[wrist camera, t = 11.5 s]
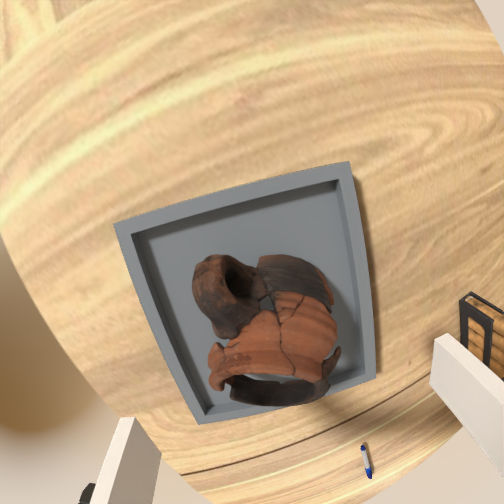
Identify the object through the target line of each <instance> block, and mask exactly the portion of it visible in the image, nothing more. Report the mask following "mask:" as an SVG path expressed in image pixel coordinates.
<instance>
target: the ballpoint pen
mask: <svg viewBox="0 0 504 504" xmlns="http://www.w3.org/2000/svg"><path fill="white" fill-rule="evenodd" d="M361 453H362V457H363V460H364V464H365V469H366V473H367V476H368V478H369V479H372V471H371V467H370V464H369V460H368V456H367V452H366V448H365V447H364V445H361Z"/></svg>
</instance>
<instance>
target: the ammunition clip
mask: <svg viewBox="0 0 504 504" xmlns="http://www.w3.org/2000/svg"><path fill="white" fill-rule="evenodd" d="M460 313H461V345H463V346H464V347H465V348H466V349H467V350H468V351H470V352H471V353H472V354H473V355H474V356H475V357H477V358H478V359H479V360H480V361H481V362H482V363H483V364H484V365H486V366H487V367H488V368H489V369H490V370H491V371H492V372H493V373H494V374H496V375H497V376H498V377H499V378H500V379H502V378H503V377H504V312H503V311H502V310H501V309H499V308H497V307H496V306H494V305H493V304H491V303H489V302H488V301H486V300H485V299H483V298H481V297H480V296H478V295H476V294H475V293H473V292H470V293H468V294H467V295H466V296H465V297H463V298H462V299H461V300H460Z"/></svg>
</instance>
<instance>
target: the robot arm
mask: <svg viewBox="0 0 504 504" xmlns="http://www.w3.org/2000/svg"><path fill="white" fill-rule="evenodd" d="M429 385H430V386H431V387H432V388H433V389H434V391H435V392H436V393H437V394H438V395H439V397H440V398H441V399H442V400H443V401H444V403H445V404H446V405H447V406H448V407H449V409H450V410H451V411H452V412H453V414H454V415H455V416H456V417H457V419H458V420H459V421H460V422H461V424H462V425H463V426H464V427H465V429H466V430H467V431H468V432H469V434H470V435H471V436H472V437H473V439H474V440H475V441H476V443H477V444H478V445H479V446H480V448H481V449H482V450H483V452H484V453H485V454H486V456H487V457H488V458H489V460H490V461H491V462H492V464H493V465H494V466H495V468H496V469H497V471H498V472H499V473H500V474H501V476H502V477H503V476H504V377H503V378H502V379H500V378H499V377H498V376H497V375H496V374H494V373H493V372H492V371H491V370H490V369H489V368H488V367H487V366H486V365H484V364H483V363H482V362H481V361H480V360H479V359H478V358H477V357H475V356H474V355H473V354H472V353H471V352H470V351H468V350H467V349H466V348H465V347H464V346H463V345H461V344H460V343H459V342H458V341H457V340H456V339H454V338H453V337H452V336H451V335H450V334H448V333H446V334H444V335H442V336H440V337H438V338H436V339H435V340H434V350H433V360H432V368H431V376H430V382H429ZM161 454H162V453H161V452H160V451H159V449H158V448H157V447H156V445H155V444H154V443H153V441H152V440H151V439H150V437H149V436H148V435H147V433H146V432H145V431H144V429H143V428H142V426H141V425H140V423H139V422H138V421H137V419H136V418H135V417H123V418H120V420H119V423H118V426H117V428H116V431H115V433H114V436H113V438H112V441H111V444H110V446H109V449H108V452H107V455H106V457H105V460H104V463H103V466H102V469H101V471H100V474H99V477H98V480H97V483H96V484H93V483H89V484H88V486H87V487H86V488H85V489H84V490H83V492H82V495H81V498H80V500H79V501H80V503H78V504H152V501H153V496H154V490H155V485H156V479H157V474H158V469H159V464H160V459H161Z"/></svg>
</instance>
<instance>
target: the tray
mask: <svg viewBox="0 0 504 504" xmlns="http://www.w3.org/2000/svg"><path fill="white" fill-rule="evenodd" d="M113 225H114V228H115V231H116V235H117V238H118V241H119V244H120V247H121V250H122V253H123V256H124V259H125V262H126V265H127V268H128V271H129V274H130V276H131V279H132V282H133V285H134V287H135V290H136V293H137V295H138V298H139V300H140V303H141V305H142V308H143V310H144V313H145V315H146V318H147V320H148V323H149V325H150V327H151V330H152V332H153V334H154V337H155V339H156V341H157V344H158V346H159V348H160V350H161V352H162V355H163V357H164V359H165V361H166V363H167V365H168V367H169V370H170V372H171V374H172V376H173V378H174V380H175V382H176V384H177V386H178V388H179V390H180V392H181V394H182V396H183V397H184V399H185V401H186V403H187V405H188V407H189V409H190V411H191V412H192V414H193V416H194V418H195V420H196V421H197V423H198V425H200V424H207V423H213V422H219V421H225V420H231V419H236V418H241V417H246V416H251V415H256V414H260V413H265V412H269V411H273V410H277V409H281V408H285V407H275V406H257V405H249V404H245V403H241V402H237V401H234V400H231V399H230V391H231V386H230V385H228V384H226V383H225V388H224V390H223V391H222V392H220V391H215V390H214V389H212V388H211V386H210V385H209V381H208V379H209V376H210V374H211V371H212V370H211V369H210V368H209V367H208V354H209V353H210V350H211V348H212V346H213V344H214V343H215V342H220V343H221V344H222V345H223V346H224V348H225V347H226V346H227V344H228V342H229V340H230V339H220V338H218V337H217V336H216V335H215V333H214V331H213V328H212V324H211V321H210V319H209V318H208V317H206V316H205V315H204V314H203V313H202V312H201V310H200V309H199V307H198V306H197V304H196V302H195V300H194V297H193V293H192V278H193V275H194V270H195V266H196V265H197V264H198V263H200V262H202V261H204V259H205V258H206V257H208V256H210V255H215V254H220V255H230V256H232V257H234V258H236V259H237V260H238V261H240V262H242V263H243V264H245V265H249V266H253V267H254V268H256V267H257V264H258V263H259V257H261V256H265V255H277V254H284V255H290V256H294V257H297V258H301V259H303V260H305V261H307V262H309V263H311V264H312V265H314V267H316V268H317V269H318V270H319V271H320V272H321V273H322V274H323V276H324V277H325V279H326V282H327V285H328V287H329V288H330V289H331V291H332V293H333V297H334V305H332V306H331V310H332V313H331V314H330V315H331V317H332V318H333V319H334V321H335V322H336V324H337V335H338V338H337V340H336V342H335V344H334V346H333V348H332V349H331V350H330V352H329V355H328V356H327V357H326V358H325V359H328V358H329V357H330V356H331V355H333V353H334V351H335V349H336V348H337V347H338V346H340V347H341V355H340V358H339V360H338V362H337V365H336V367H335V368H334V369H333V371H332V372H331V374H330V375H329V376H328V377H327V380H328V383H329V384H330V385H331V387H330V388H329V390H328V392H327V393H326V394H325V395H324V396H327V395H330V394H333V393H336V392H339V391H342V390H345V389H348V388H351V387H354V386H356V385H359V384H362V383H365V382H367V381H370V380H372V379H375V378H376V355H375V335H374V321H373V308H372V298H371V288H370V279H369V270H368V263H367V255H366V248H365V241H364V235H363V229H362V223H361V217H360V211H359V206H358V201H357V195H356V190H355V185H354V181H353V176H352V171H351V167H350V163H349V161H347V162H340V163H335V164H330V165H325V166H320V167H315V168H311V169H306V170H301V171H297V172H292V173H288V174H284V175H279V176H275V177H271V178H267V179H263V180H259V181H255V182H251V183H247V184H243V185H239V186H235V187H231V188H228V189H224V190H220V191H217V192H213V193H209V194H206V195H202V196H199V197H195V198H192V199H188V200H185V201H182V202H178V203H175V204H172V205H168V206H165V207H162V208H159V209H156V210H152V211H149V212H146V213H143V214H140V215H137V216H134V217H131V218H128V219H125V220H122V221H119V222H117V223H114V224H113ZM259 303H260V309H261V310H263V309H269V310H274V307H273V305H272V302H271V299H270V297H269V296H266V297H265V298H264V299H262V300H261V301H260V302H259ZM325 359H324V360H325ZM243 375H245V376H247V377H250V378H252V379H255V380H265V381H278V382H280V384H282V383H285V382H288V381H293V380H294V381H295V380H302V379H301V378H297V377H294V376H292V375H291V376H286V375H280V374H243ZM324 396H323V397H324ZM286 407H289V406H286Z"/></svg>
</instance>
